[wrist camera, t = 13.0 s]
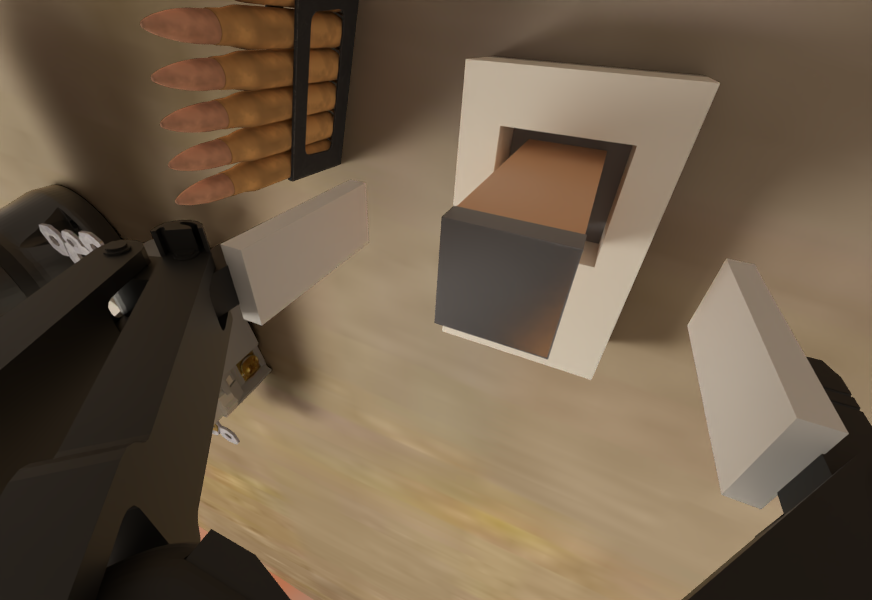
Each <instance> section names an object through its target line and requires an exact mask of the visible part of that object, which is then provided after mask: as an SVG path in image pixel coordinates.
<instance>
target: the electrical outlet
mask: <svg viewBox="0 0 872 600" xmlns="http://www.w3.org/2000/svg"><path fill="white" fill-rule="evenodd" d="M39 228H40V231H41V233H42V234H43V235H44V236H45V238H46V239H47V240H48V242H49V243H50V244H51V245H52V247H53V248H54V249H56V250H57V251H58V252H59V253H61V254H62V255H65V256H70V258H71V259H72V261H73V262H74V263H76V262H78V261H79V260H80V259H82V258H83V257H82V255H87V254H89V253H90V252H92V251H93V250H94V249H96V247H97V248H98V247H100V246H102V245H105V244H104V243H103V241H102V240H101V239H99V238H98V237H97V236H96V235H95V234H93V233H92V232H88V231H80V232H78V233H79V237H78V236H77V235H76V234H75V233H73V232H72V231H70V230H66V229H65V230H63V231H61V233H62V234H61V233H60V232H59V231H58V230H57V229H55V228H54V227H53V226H52V225H49V224H44V223H42V224H39ZM53 237H54V238H55V239H56V240H57V241H58V242H57V241H56V240H55V239H54V238H53ZM94 245H95V246H96V247H95V246H94ZM143 245H144V247H145V249H146V251H147V254H148V256H156V257H161V255H160V253H159V251H158V248H157V246H156V244H155V241H154V239H152V240H149V241H147V242H145V243H143ZM81 254H82V255H81ZM108 308H109V310H110V312H111V313H112V314H113V315H114V316H116V315H117V314H118V313H119V312H120V310H119V308H118V306H117V304H116V302H115V300H114V299H113V297H112V298H111V300H110V301H109V305H108ZM231 313H232V317H233V322H232V328H231V333H230V339H229V344H228V349H227V355H226V360H225V366H224V371H223V377H222V382H221V388H220V393H219V398H218V404H217V409H216V415H215V420H214V426H213V431H212V433H213V434H215V435H217V436H218V435H219V434H220V433H221V435H222V436H223V437H224V438H225V439H227V440H228V441H230V442H232V443H234V444H238V443H239V442H240V441H239V439H238V438H237V436H236V435H235V433H233V432H232V431H231V430H230V429H228V428H226V427H224V426H221V424H220V423H219V420H220V419H221V418H222V417H223V416H224V417H227V416H228V415H229V414H230V413H231V412H232V411H233V410H234V409H235V408H236V407H237V406H238V405H239V404H240V403H241V402H242V401H243V400H244V399H245V398H246V397H247V396H248V395H249V394H250V393H251V392H252V391H253V390H254V389H255V388H256V387H257V386H258V385H259V384H260V383H261V382H262V381H263V379H264V378H265V377H266V376H267V375H268V374H269V373H270V372H271V370H272V369H270V368H269V367H267V366H266V363H265V360H264V358H263V356H262V354H261V352H260V350H259V348H258V346H257V345H258V344H259V343H258V341H257V339H256V337H255V335H254V333H253V331H252V329H251V327H250V326H249V324H248V322H247V320H245V319H243V316H242V312H241V309H240V306H239V305H237V306H236V307H234V308H233V309H231Z"/></svg>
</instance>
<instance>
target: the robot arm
mask: <svg viewBox="0 0 872 600" xmlns="http://www.w3.org/2000/svg"><path fill="white" fill-rule="evenodd" d="M42 223H44V224H49V225H52V226H53V227H54V228H55V229H57V230H58V231H59V232H60V233H61V231H63V230H65V229H66V230H70V231H72V232H73V233H75V234H76V235H77V236H78V237H79V233H78V232H80V231H88V232H92V233H93V234H95V235H96V236H97V237H98V238H99V239H101V240H102V241H103V243H104V244H105V245H102V246H100V247H98V248H97V247H96V246H95V245H94V246H95V247H96V249H94V250H93V251H92V252H90V253H89V254H87V255H82V254H81V255H82V257H83V258H82V259H80V260H79V261H78V262H76V263H74V262H73V261H72V259H71V258H70V256H65V255H62V254H61V253H59V252H58V251H57V250H56V249H54V248H53V247H52V245H51V244H50V243H49V242H48V240H47V239H46V238H45V236H44V235H43V234H42V233H41V231H40V228H39V224H42ZM150 232H151V234H152V237H153V239H154V241H155V244H156V246H157V248H158V251H159V253H160V255H161V257H156V256H148V254H147V251H146V249H145V247H144V245H143V243H142V242H140V241H135V240H121V239H120V237H119V236H118V235H117V233H116V232H115V230H114V229H113V228H112V227H111V225H110V224H109V223H108V222H107V221H106V220H105V218H104V217H103V216H102V215H101V214H100V213H99V212H98V211H97V210H96V209H95V208H94V207H93V206H92V205H90V204H89V203H88V202H87V201H86V200H84V199H83V198H82V197H80V196H79V195H78V194H76V193H75V192H73V191H71V190H69V189H67V188H65V187H62V186H59V185H50V186H46V187H43V188H39V189H35V190H31V191H29V192H27V193H25V194H24V195H22V196H20V197H19V198H17V199H16V200H14V201H12V202H11V203H9V204H8V205H6V206H5V207H3V208H1V209H0V600H290V599H289V597H288V596H287V595H286V593H285V592H284V591H283V590H282V588H281V587H280V586H279V585H278V583H277V582H276V581H275V579H274V578H273V577H272V576H271V574H270V573H269V572H268V570H267V569H266V568H265V567H264V565H263V564H262V563H261V562H260V560H259V559H258V558H257V556H256V555H254V554H253V553H251V552H249V551H248V550H246V549H244V548H243V547H241V546H239V545H238V544H236V543H234V542H232V541H231V540H229V539H227V538H226V537H224V536H222V535H221V534H219V533H217V532H216V531H214V530H212V529H211V530H210V531H209V532H208V534H207V535H206V536H205V537H204V538H203V540H202V541H201V542H200V533H199V526H198V507H199V502H200V496H201V491H202V486H203V480H204V475H205V469H206V464H207V458H208V453H209V447H210V442H211V437H212V431H213V426H214V420H215V415H216V409H217V404H218V398H219V393H220V388H221V382H222V377H223V371H224V366H225V360H226V355H227V349H228V344H229V339H230V333H231V328H232V322H233V317H232V313H231V309H233V308H234V307H236V306H237V305H239V306H240V309H241V312H242V316H243V319H245V320H248V321H250V322H253V323H256V324H259V325H261V326H262V325H263V324H265V323H266V322H267V321H269V320H270V319H271V318H272V317H274V316H275V315H276V314H278V313H279V312H280V311H281V310H283V309H284V308H285V307H287V306H288V305H289V304H290V303H292V302H293V301H294V300H296V299H297V298H298V297H299V296H301V295H302V294H303V293H305V292H306V291H307V290H308V289H310V288H311V287H312V286H314V285H315V284H316V283H317V282H319V281H320V280H321V279H323V278H324V277H325V276H326V275H328V274H329V273H330V272H332V271H333V270H334V269H335V268H337V267H338V266H339V265H341V264H342V263H343V262H344V261H346V260H347V259H348V258H350V257H351V256H352V255H353V254H355V253H356V252H357V251H359V250H360V249H361V248H362V247H364V246H365V245H366V244H368V243H369V232H368V213H367V194H366V183H365V182H360V181H356V180H351V179H350V180H348V181H346V182H344V183H342V184H340V185H338V186H336V187H334V188H332V189H330V190H328V191H326V192H324V193H322V194H320V195H318V196H316V197H314V198H312V199H310V200H308V201H306V202H304V203H302V204H300V205H298V206H296V207H294V208H292V209H290V210H288V211H286V212H284V213H282V214H280V215H278V216H276V217H274V218H272V219H270V220H268V221H266V222H264V223H261V224H259V225H257V226H255V227H253V228H251V229H250V230H247V231H245V232H243V233H241V234H240V235H237V236H235V237H233V238H231V239H229V240H227V241H225V242H223V243H221V244H219V245H217V246H215V247H213V248H211V249H210V247H209V244H208V241H207V238H206V235H205V232H204V229H203V226H202V224H201V223H199V222H197V221H192V220H179V221H172V222H168V223H164V224H161V225H159V226H157V227H155V228H154V229H152V230H151V231H150ZM61 234H62V233H61ZM53 238H54V237H53ZM54 239H55V238H54ZM55 240H56V239H55ZM56 241H57V240H56ZM57 242H58V241H57ZM112 297H113V299H114V300H115V302H116V304H117V306H118V308H119V310H120V312H119V313H118V314H117V315H116V316H114V315H113V314H112V313H111V312H110V310H109V308H108V305H109V301H110V300H111V298H112ZM687 326H688V331H689V336H690V341H691V346H692V351H693V356H694V361H695V366H696V371H697V376H698V381H699V386H700V391H701V396H702V401H703V405H704V410H705V415H706V420H707V425H708V430H709V435H710V440H711V445H712V450H713V455H714V460H715V465H716V470H717V475H718V480H719V485H720V490H721V494H722V495H724V496H726V497H729V498H732V499H735V500H737V501H740V502H743V503H745V504H748V505H751V506H754V507H756V508H759V509H762V508H763V507H764V506H766V505H767V504H768V503H769V502H770V501H771V500H773V499H774V498H775V497H776V496H777V495H778V497H779V500H780V503H781V506H782V509H783V512H784V514H783V515H781V516H780V517H779V518H778V519H776V520H775V521H774V522H773V523H771V524H770V525H769V526H768V527H766V528H765V529H764V530H763V531H761V532H760V533H759V534H758V535H756V536H755V538H754V539H753V540H752V541H750V542H749V543H748V544H747V545H746V546H744V547H743V548H742V549H741V550H740V551H739V552H737V553H736V554H735V555H734V556H733V557H731V558H730V559H729V560H728V561H727V562H726V563H724V564H723V565H722V566H721V567H720V568H718V569H717V570H716V571H715V572H714V573H713V574H711V575H710V576H709V577H708V578H707V579H706V580H704V581H703V582H702V583H701V584H700V585H698V586H697V587H696V588H695V589H694V590H693V591H691V592H690V593H689V594H688V595H687V596H685V597H684V598H683V599H682V600H872V426H871V424H870V423H869V421H868V420H867V418H866V416H865V415H864V413H863V412H861V411H860V407H859V405H858V404H857V402H856V400H855V399H854V398H853V397H851V395H852V394H851V392H850V391H849V389H848V388H847V386H846V384H845V383H844V381H843V380H842V378H841V377H840V376H839V375H838V374H837V373H835V372H834V371H833V370H832V369H831V368H830V367H829V366H827V365H826V364H825V363H824V362H823V361H821V360H818V359H814V358H810V357H806V356H805V354H804V352H803V351H802V349H801V347H800V345H799V343H798V342H797V340H796V338H795V336H794V334H793V333H792V331H791V329H790V327H789V325H788V324H787V322H786V320H785V318H784V316H783V315H782V313H781V311H780V309H779V307H778V306H777V304H776V302H775V300H774V298H773V297H772V295H771V293H770V291H769V289H768V288H767V286H766V284H765V282H764V280H763V279H762V277H761V275H760V273H759V271H758V270H757V268H756V266H755V264H751V263H746V262H742V261H737V260H732V259H727V258H726V260H725V261H724V263H723V265H722V267H721V268H720V270H719V272H718V273H717V275H716V277H715V279H714V280H713V282H712V284H711V285H710V287H709V289H708V291H707V292H706V294H705V296H704V298H703V299H702V301H701V303H700V304H699V306H698V308H697V310H696V311H695V313H694V315H693V317H692V318H691V320H690V322H689V323H688V325H687Z"/></svg>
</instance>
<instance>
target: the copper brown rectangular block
mask: <svg viewBox="0 0 872 600" xmlns="http://www.w3.org/2000/svg"><path fill="white" fill-rule="evenodd" d="M606 154H607V151H605V150H598V149H592V148H585V147H579V146H572V145H566V144H559V143H553V142H546V141H540V140H533V139H529V140H528V141H527V142H526V143H524V144H523V145H522V146H521V147H520V148H519V149H518V150H517V151H516V152H515V153H514V154H513V155H511V156H510V157H509V158H508V159H507V160H506V161H505V162H504V163H503V164H502V165H501V166H500V167H499V168H497V169H496V170H495V171H494V172H493V173H492V174H491V175H490V176H489V177H488V178H487V179H486V180H484V181H483V182H482V183H481V184H480V185H479V186H478V187H477V188H476V189H475V190H474V191H473V192H472V193H470V194H469V195H468V196H467V197H466V198H465V199H464V200H463V201H462V202H461V203H460V204H459V205H457V206H453V207H452V208H451V209H450V210H449V211H448V212H446V213H445V214H444V215H443V216H442V221H441V235H440V250H439V264H438V279H437V293H436V308H435V322H434V323H436V324H439V325H442V326H445V327H448V328H452V329H455V330H458V331H461V332H464V333H467V334H470V335H473V336H476V337H479V338H483V339H486V340H489V341H492V342H495V343H498V344H501V345H504V346H507V347H510V348H513V349H517V350H520V351H523V352H526V353H529V354H532V355H535V356H538V357H541V358H544V359H548V358H549V355H550V352H551V349H552V346H553V342H554V339H555V336H556V333H557V330H558V327H559V324H560V321H561V318H562V314H563V311H564V308H565V305H566V302H567V299H568V296H569V293H570V290H571V286H572V283H573V280H574V277H575V274H576V271H577V268H578V265H579V262H580V258H581V255H582V252H583V249H584V245H585V241H586V237H587V235H586V234H585V233H586V230H587V226H588V222H589V218H590V214H591V211H592V207H593V203H594V199H595V196H596V192H597V188H598V184H599V180H600V177H601V173H602V169H603V165H604V161H605V158H606Z"/></svg>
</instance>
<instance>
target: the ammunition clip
mask: <svg viewBox="0 0 872 600" xmlns="http://www.w3.org/2000/svg"><path fill="white" fill-rule="evenodd" d="M236 1H239V2H245V3H253V4H263V5H265V7H262V6H249V5H228V6H224V7H220V8H210V7H205V8H176V9H168V10H163V11H160V12H156V13H153V14H151V15H149V16H147V17H145V18H144V19H142V20H141V21H140V25H141V27H142V28H143V29H145V30H147V31H149V32H151V33H153V34H155V35H158V36H160V37H164V38H167V39H171V40H175V41H180V42H186V43H194V44H213V45H221V46H232V47H236V48H241V49H246V50H244V51H235V52H231V53H229V54H226V55H221V56H212V57H208V58H196V59H189V60H184V61H179V62H176V63H173V64H170V65H167V66H165V67H163V68H160V69H159V70H157V71H156V72H154V73H153V74H152V75H151V80H152V81H153V82H155V83H157V84H160V85H162V86H166V87H170V88H175V89H181V90H191V91H207V90H217V89H218V90H229V89H236V90H243V91H241V92H237V93H234V94H232V95H229V96H227V97H225V98H220V99H215V100H212V101H208V102H202V103H197V104H194V105H191V106H187V107H184V108H182V109H179V110H177V111H175V112H173V113H171V114H169V115H168V116H166V117H165V118H164V119H163V120H162V121H161V122H160V126H161V127H162V128H164V129H168V130H172V131H177V132H207V131H214V130H219V129H229V128H235V127H242V129H239V130H236V131H234V132H232V133H231V134H229V135H227V136H224V137H220V138H217V139H215V140H212V141H208V142H205V143H201V144H198V145H196V146H193V147H191V148H189V149H187V150H185V151H183V152H181V153H180V154H178V155H177V156H175V157H174V158H173V159H172V160H171V161H170V162H169V163H168V167H169V168H171V169H174V170H181V171H195V170H204V169H210V168H215V167H219V166H223V165H226V164H227V165H228V164H233V163H237V162H240V163H238V164H236V165H235V166H233V167H232V168H230V169H228V170H225V171H223V172H220V173H218V174H216V175H213V176H210V177H208V178H205V179H203V180H201V181H199V182H197V183H195V184H193V185H191V186H190V187H188V188H187V189H186V190H184V191H183V192H182V193H181V194H179V196H178V197H177V198H176V199H175V203H176V204H180V205H196V204H204V203H209V202H213V201H217V200H221V199H224V198H226V197H229V196H234V195H237V194H240V193H243V192H250V191H256V190H259V189H261V188H264V187H267V186H269V185H272V184H274V183H277V182H279V181H282V180H285V179H287V178H288V180H290V181H295V180H298V179H301V178H304V177H306V176H309V175H312V174H315V173H318V172H320V171H323V170H326V169H329V168H332V167H335V166H337V165H340V164H341V155H342V146H343V137H344V128H345V119H346V110H347V101H348V92H349V83H350V74H351V65H352V56H353V47H354V38H355V29H356V20H357V11H358V2H359V0H236ZM283 7H292V8H295V9H287V8H283ZM259 49H266V50H259Z"/></svg>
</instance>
